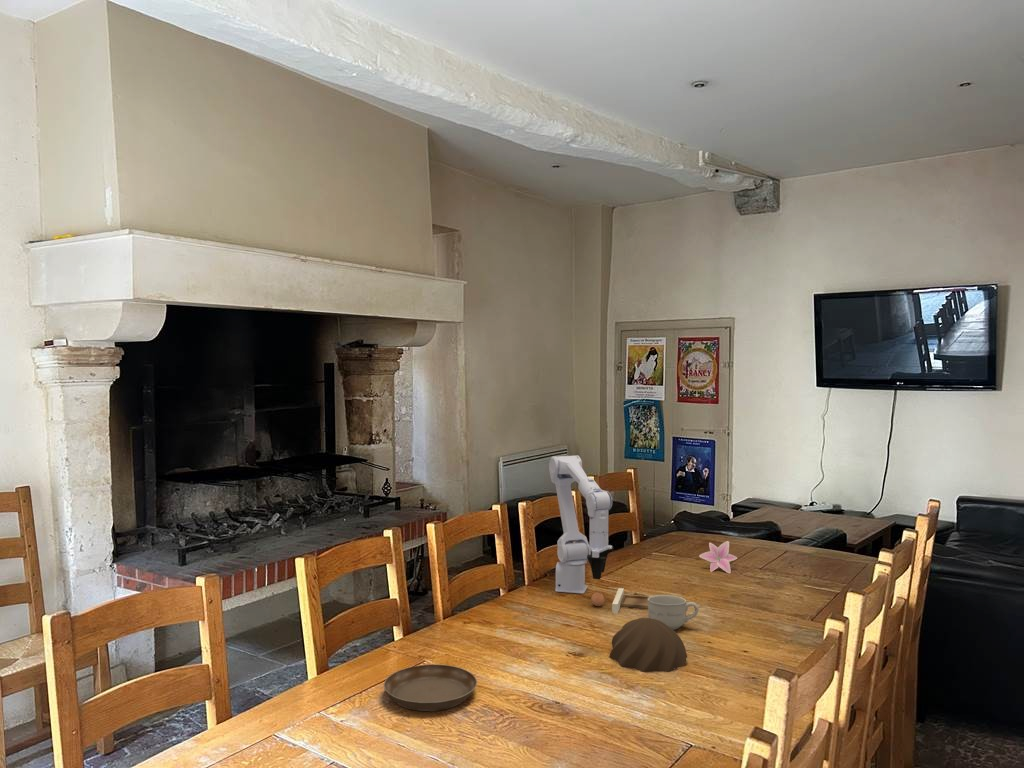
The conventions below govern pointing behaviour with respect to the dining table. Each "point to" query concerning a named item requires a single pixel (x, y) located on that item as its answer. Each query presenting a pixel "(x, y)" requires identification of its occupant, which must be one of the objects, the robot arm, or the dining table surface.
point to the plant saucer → (430, 687)
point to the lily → (719, 557)
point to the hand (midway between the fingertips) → (598, 575)
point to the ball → (597, 599)
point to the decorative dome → (648, 646)
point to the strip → (617, 600)
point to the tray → (635, 601)
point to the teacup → (670, 610)
